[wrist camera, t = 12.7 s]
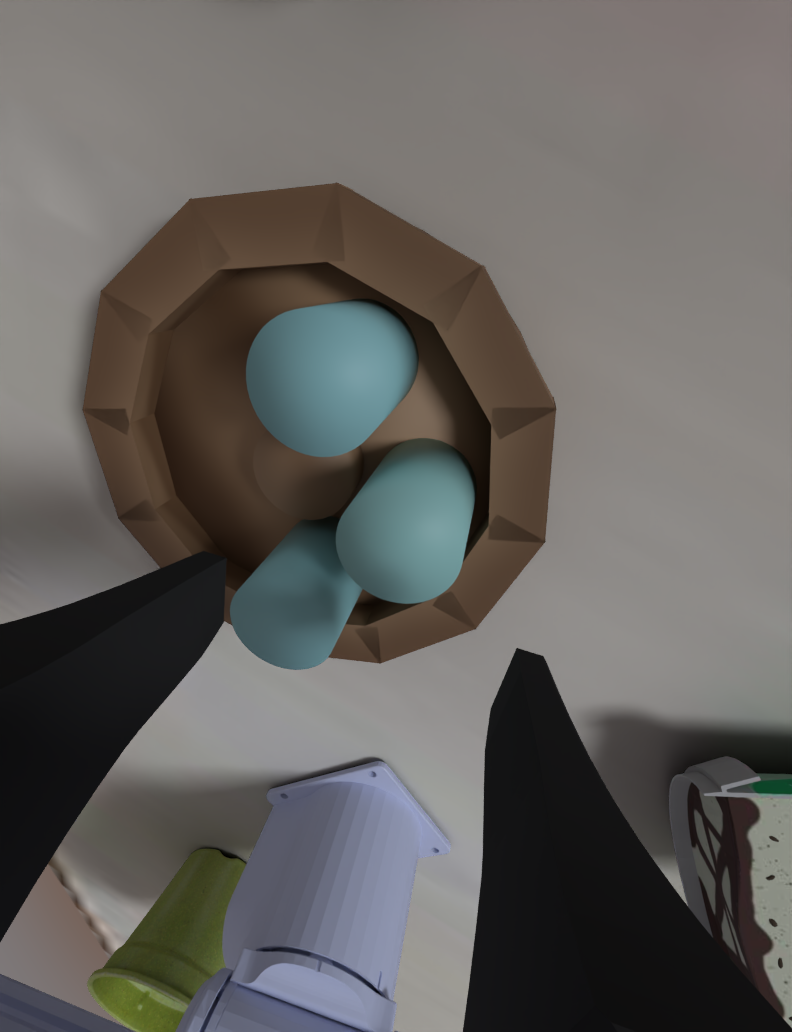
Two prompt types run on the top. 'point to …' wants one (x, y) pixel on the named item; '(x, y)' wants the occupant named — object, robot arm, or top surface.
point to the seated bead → (296, 599)
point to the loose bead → (409, 523)
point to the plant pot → (171, 947)
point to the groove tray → (218, 429)
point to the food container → (739, 867)
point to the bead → (330, 374)
